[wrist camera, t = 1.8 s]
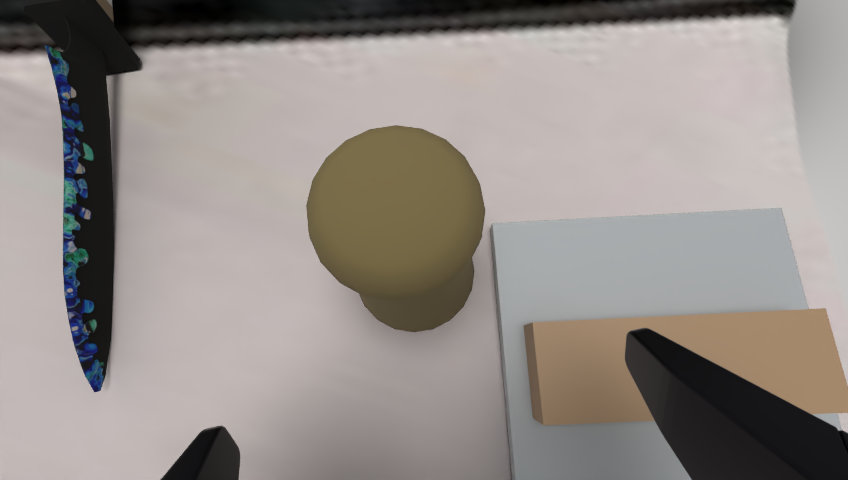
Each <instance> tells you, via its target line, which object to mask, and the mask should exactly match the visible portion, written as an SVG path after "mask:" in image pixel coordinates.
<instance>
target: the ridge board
mask: <svg viewBox="0 0 848 480" xmlns="http://www.w3.org/2000/svg"><path fill="white" fill-rule="evenodd" d="M490 232H491V243H492V254H493V266H494V277H495V289H496V300H497V311H498V323H499V334H500V345H501V357H502V368H503V380H504V391H505V402H506V414H507V425H508V436H509V448H510V459H511V471H512V480H692V479H691V478H690V476H689V475H688V473H687V472H686V470H685V469H684V467H683V466H682V464H681V463H680V461H679V460H678V458H677V456H676V455H675V453H674V452H673V450H672V449H671V447H670V446H669V444H668V443H667V441H666V440H665V438H664V436H663V435H662V433H661V431H660V430H659V428H658V426H657V424H656V422H655V420H654V418H653V417H652V415H651V413H650V411H649V409H648V407H647V405H646V403H645V401H644V399H643V397H642V395H641V393H640V391H639V389H638V387H637V385H636V384H635V382H634V380H633V378H632V376H631V374H630V372H629V370H628V368H627V366H626V362H625V346H626V336H627V333H628V332H629V331H631V330H635V329H640V328H649V329H651V330H653V331H655V332H657V333H659V334H661V335H663V336H665V337H666V338H668V339H670V340H672V341H674V342H676V343H678V344H680V345H682V346H684V347H685V348H687V349H689V350H691V351H693V352H695V353H697V354H699V355H701V356H702V357H704V358H706V359H708V360H710V361H712V362H714V363H716V364H718V365H719V366H721V367H723V368H725V369H727V370H729V371H731V372H733V373H735V374H737V375H738V376H740V377H742V378H744V379H746V380H748V381H750V382H752V383H754V384H755V385H757V386H759V387H761V388H763V389H765V390H767V391H769V392H771V393H772V394H774V395H776V396H778V397H780V398H782V399H784V400H786V401H788V402H790V403H791V404H793V405H795V406H797V407H799V408H801V409H803V410H805V411H807V412H808V413H810V414H812V415H814V416H816V417H818V418H820V419H822V420H824V421H826V422H827V423H829V424H831V425H833V426H835V427H836V428H837V429H838V431H839V430H842V428H841V425H840V421H839V417H838V414H837V413H848V386H847V383H846V379H845V376H844V372H843V369H842V365H841V362H840V358H839V354H838V351H837V347H836V344H835V340H834V337H833V333H832V330H831V326H830V323H829V319H828V316H827V312H826V309H825V308H823V309H809V307H808V304H807V300H806V296H805V293H804V289H803V285H802V282H801V278H800V274H799V271H798V267H797V263H796V260H795V256H794V252H793V249H792V245H791V241H790V238H789V234H788V230H787V227H786V223H785V219H784V216H783V212H782V208H770V209H752V210H733V211H714V212H695V213H677V214H658V215H639V216H620V217H601V218H583V219H564V220H545V221H526V222H508V223H492V226H491V228H490Z"/></svg>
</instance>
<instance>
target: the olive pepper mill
mask: <svg viewBox="0 0 848 480" xmlns="http://www.w3.org/2000/svg"><path fill="white" fill-rule="evenodd" d="M484 216H485V207H484V202H483V197H482V192H481V187H480V183H479V181H478V179H477V177H476V175H475V174H474V172H473V170H472V168H471V167H470V165H469V163H468V162H467V160H466V158H465V156H463V155H462V154H461V153H460V152H459V151H458V150H457V149H456V148H454V147H453V146H452V145H451V144H450V143H449V142H448V141H447V140H445V139H443V138H441V137H439V136H437V135H434V134H432V133H430V132H428V131H426V130H423V129H419V128H412V127H404V126H397V125H396V126H389V127H382V128H376V129H370V130H368V131H366V132H363V133H361V134H359V135H357V136H355V137H353V138H350V139H348V140H346V141H345V142H344V143H343V144H342V145H340V146H339V147H338V148H337V149H336V150H335V151H334V152H332V153H331V154H330V155H329V156H328V157H327V158H326V159H325V161H324V163H323V164H322V166H321V167H320V169H319V171H318V172H317V174H316V175H315V177H314V179H313V181H312V185H311V189H310V193H309V197H308V201H307V218H308V230H309V236H310V239H311V241H312V244H313V246H314V248H315V251H316V253H317V255H318V257H319V260H320V262H321V263H322V264H323V265H324V266H325V267H326V268H327V270H328V271H329V272H330V273H331V274H332V275H333V276H334V277H335V278H336V279H337V280H338V281H339V282H340V283H341V284H343V285H345V286H347V287H348V288H350V289H352V290H354V291H356V292H358V293H359V294H360V296H361V299H362V301H363V303H364V305H365V307H366V308H367V309H368V310H369V311H370V312H371V313H372V314H373V315H374V316H375V317H376V318H377V319H378V320H379V321H381V322H383V323H385V324H387V325H388V326H390V327H392V328H394V329H399V330H405V331H410V332H417V331H424V330H430V329H434V328H436V327H438V326H440V325H442V324H444V323H446V322H448V321H449V320H451V319H452V318H453V317H454V316H455V315H456V314H457V313H458V312H459V311H460V310H461V309H462V308H463V306H464V304H465V302H466V300H467V298H468V296H469V294H470V292H471V290H472V284H473V277H474V267H473V261H472V256H473V254H474V252H475V250H476V248H477V246H478V244H479V242H480V240H481V238H482V231H483V223H484Z"/></svg>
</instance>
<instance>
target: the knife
mask: <svg viewBox="0 0 848 480" xmlns="http://www.w3.org/2000/svg"><path fill="white" fill-rule="evenodd" d="M24 11H25V12H26V13H27V14H28V15H29V16H30V17H31V18H32V19H33V20H34V21H35V22H36V23H37V24H38V25H39V26H40V27H41V28H42V29H43V30H44V31H45V32H46V33H47V34H48V36H49V37H50V38H51V39H52V40H53V41H54V42H55V43H56V44H57V45H58V46H59V47H60V48H61V49H62V50H63V52H60V51H57V50H55V49H53V48H51V47H49V46H46V45H45V48H46V51H47V54H48V57H49V61H50V64H51V67H52V71H53V76H54V80H55V84H56V88H57V93H58V98H59V104H60V109H61V115H62V130H63V153H64V208H63V276H64V292H65V300H66V306H67V312H68V319H69V324H70V328H71V333H72V338H73V342H74V346H75V349H76V352H77V355H78V358H79V361H80V364H81V366H82V369H83V372H84V374H85V377H86V378H87V380H88V381H89V383H90V385H91V387H92V388H93V390H94V392H98V391H100V390H101V387H102V384H103V381H104V379H105V375H106V368H107V361H108V355H109V348H110V341H111V322H112V300H113V254H114V237H113V186H112V163H111V139H110V118H109V107H108V95H107V84H106V74H111V73H118V72H124V71H130V70H136V69H137V68H138V65H139V61H140V59H139V57H138V56H137V55H136V54H135V52H134V51H133V50H132V49H131V47H130V46H129V45H128V44H127V42H126V41H125V40H124V39H123V37H122V36H121V35H120V34H119V32H118V31H117V30H116V29H115V27H114V19H113V7H112V0H26V3H25V6H24Z"/></svg>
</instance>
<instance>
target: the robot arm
mask: <svg viewBox="0 0 848 480" xmlns="http://www.w3.org/2000/svg"><path fill="white" fill-rule="evenodd" d="M625 362H626V366H627V368H628V370H629V372H630V374H631V376H632V378H633V380H634V382H635V384H636V385H637V387H638V389H639V391H640V393H641V395H642V397H643V399H644V401H645V403H646V405H647V407H648V409H649V411H650V413H651V415H652V417H653V418H654V420H655V422H656V424H657V426H658V428H659V430H660V431H661V433H662V435H663V436H664V438H665V440H666V441H667V443H668V444H669V446H670V447H671V449H672V450H673V452H674V453H675V455H676V456H677V458H678V460H679V461H680V463H681V464H682V466H683V467H684V469H685V470H686V472H687V473H688V475H689V476H690V478H691V479H692V480H848V433H847V432H845V431H843V430H839V431H838V429H837V428H836V427H835V426H833V425H831V424H829V423H827V422H826V421H824V420H822V419H820V418H818V417H816V416H814V415H812V414H810V413H808V412H807V411H805V410H803V409H801V408H799V407H797V406H795V405H793V404H791V403H790V402H788V401H786V400H784V399H782V398H780V397H778V396H776V395H774V394H772V393H771V392H769V391H767V390H765V389H763V388H761V387H759V386H757V385H755V384H754V383H752V382H750V381H748V380H746V379H744V378H742V377H740V376H738V375H737V374H735V373H733V372H731V371H729V370H727V369H725V368H723V367H721V366H719V365H718V364H716V363H714V362H712V361H710V360H708V359H706V358H704V357H702V356H701V355H699V354H697V353H695V352H693V351H691V350H689V349H687V348H685V347H684V346H682V345H680V344H678V343H676V342H674V341H672V340H670V339H668V338H666V337H665V336H663V335H661V334H659V333H657V332H655V331H653V330H651V329H649V328H640V329H635V330H631V331H629V332H628V333H627V336H626V346H625ZM239 467H240V451H239V448H238V446H237V444H236V443H235V441H234V440H233V438H232V437H231V435H230V434H229V432H228V431H227V429H226V428H225V427H223V426H216V427H212V428H208V429H205V430H203V431H201V432H200V433H199V434H198V436H197V437H196V438H195V439H194V440H193V442H192V443H191V444H190V445H189V446H188V448H187V449H186V450H185V451H184V452H183V454H182V455H181V456H180V457H179V458H178V460H177V461H176V462H175V463H174V464H173V466H172V467H171V468H170V469H169V470H168V472H167V473H166V474H165V475H164V476H163V478H162V479H161V480H238V479H239Z"/></svg>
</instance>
